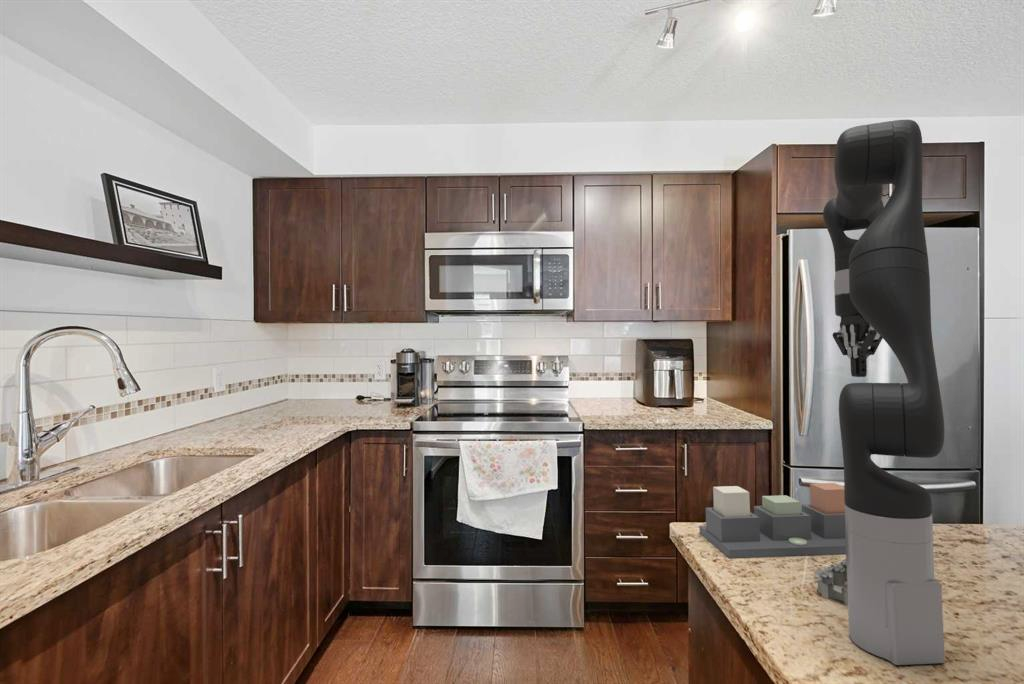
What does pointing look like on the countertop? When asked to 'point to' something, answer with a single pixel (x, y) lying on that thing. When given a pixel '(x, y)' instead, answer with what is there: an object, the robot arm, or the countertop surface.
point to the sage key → (781, 505)
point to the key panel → (776, 533)
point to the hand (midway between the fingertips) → (858, 376)
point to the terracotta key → (827, 498)
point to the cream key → (731, 501)
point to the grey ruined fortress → (833, 581)
